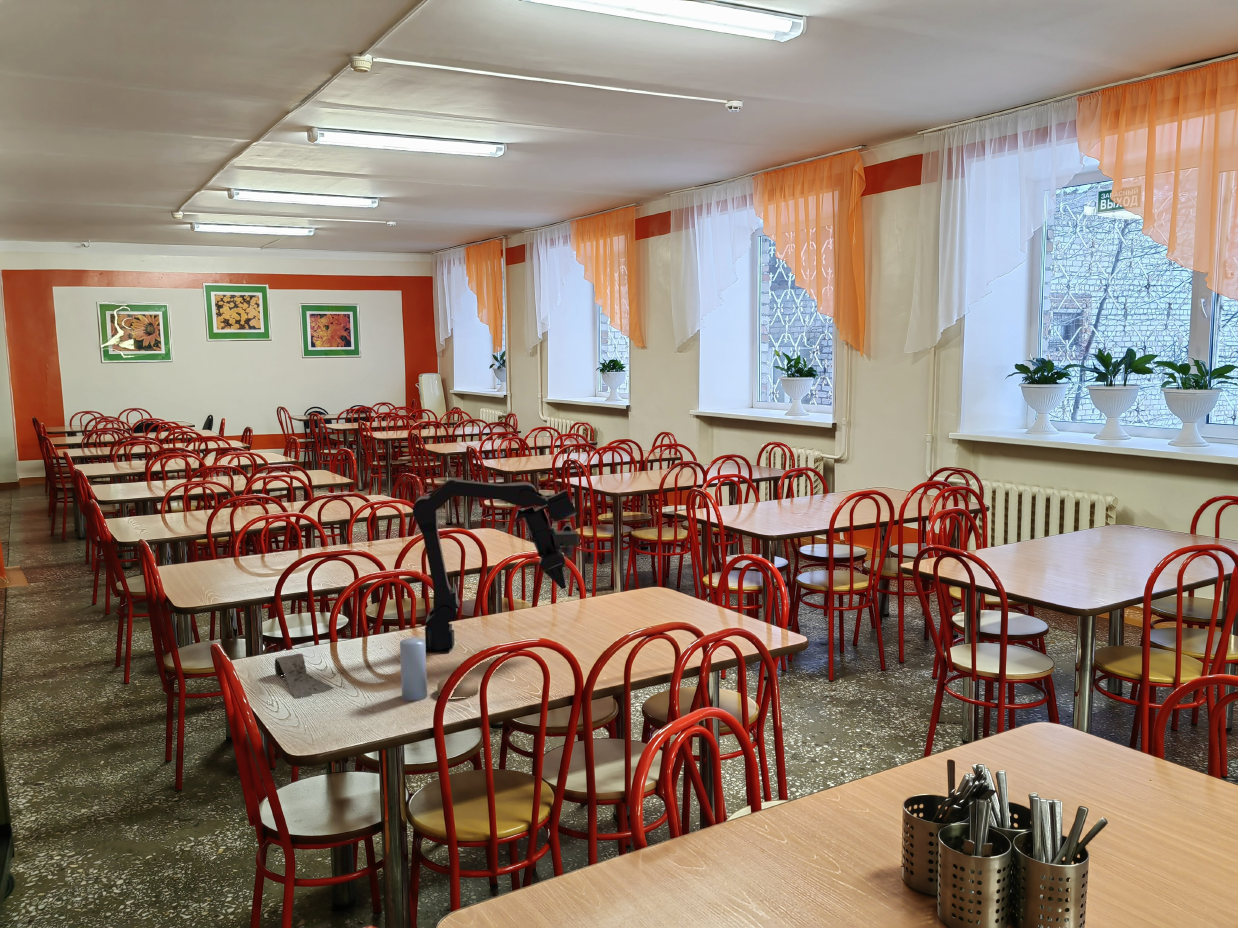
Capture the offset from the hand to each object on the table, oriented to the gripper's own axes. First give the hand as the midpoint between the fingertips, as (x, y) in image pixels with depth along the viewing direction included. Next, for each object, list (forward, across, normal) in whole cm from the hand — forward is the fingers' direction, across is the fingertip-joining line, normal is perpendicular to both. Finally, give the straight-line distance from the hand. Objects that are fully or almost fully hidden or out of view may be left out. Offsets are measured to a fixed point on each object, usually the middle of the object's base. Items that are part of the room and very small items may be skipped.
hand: (563, 583), depth 241 cm
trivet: (+6, -32, +30) cm, 44 cm away
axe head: (-7, -20, +63) cm, 67 cm away
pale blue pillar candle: (+2, -33, +38) cm, 51 cm away
